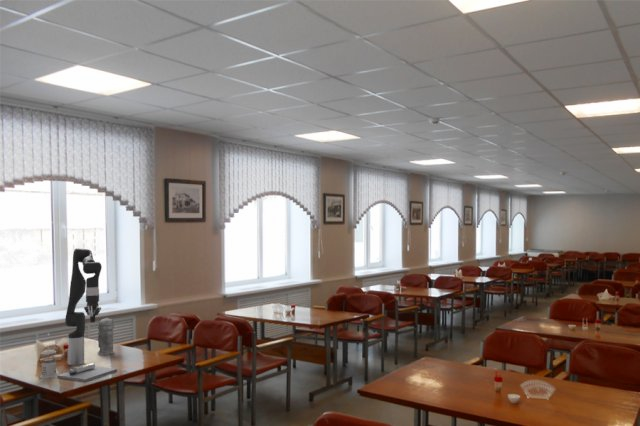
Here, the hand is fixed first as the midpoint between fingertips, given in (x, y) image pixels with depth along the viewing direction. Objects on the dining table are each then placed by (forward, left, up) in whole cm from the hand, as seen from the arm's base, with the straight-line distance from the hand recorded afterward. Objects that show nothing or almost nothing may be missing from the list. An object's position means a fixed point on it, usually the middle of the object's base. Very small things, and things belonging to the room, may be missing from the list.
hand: (92, 322), depth 312 cm
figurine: (-26, +33, -29) cm, 51 cm away
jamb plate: (+7, -10, -29) cm, 31 cm away
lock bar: (+2, -10, -27) cm, 29 cm away
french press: (-15, -19, -29) cm, 38 cm away
